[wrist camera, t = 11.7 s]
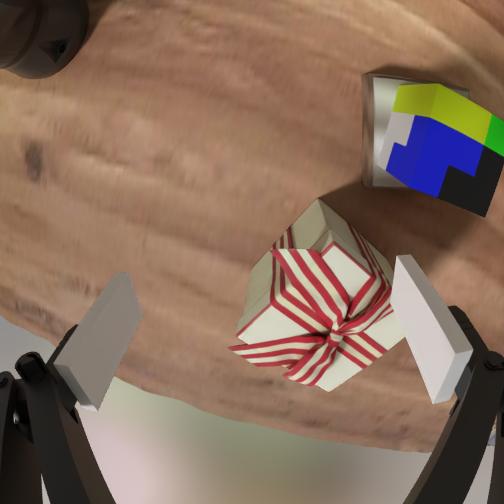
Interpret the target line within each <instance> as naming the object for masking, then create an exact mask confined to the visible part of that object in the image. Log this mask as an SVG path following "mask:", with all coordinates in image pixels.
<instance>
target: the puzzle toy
mask: <svg viewBox="0 0 504 504" xmlns="http://www.w3.org/2000/svg"><path fill="white" fill-rule="evenodd" d="M377 165H378V166H379V167H381V168H382V169H384V170H385V171H387V172H388V173H389V174H391V175H392V176H394V177H395V178H397V179H398V180H399V181H401V182H402V183H403V184H405V185H406V186H407V187H409V188H412V189H415V190H418V191H420V192H423V193H426V194H428V195H431V196H434V197H436V198H439V199H441V200H444V201H446V202H449V203H451V204H454V205H456V206H459V207H461V208H463V209H466V210H468V211H470V212H473V213H475V214H477V215H480V216H482V217H484V218H485V216H486V213H487V211H488V208H489V206H490V203H491V200H492V198H493V195H494V192H495V189H496V186H497V184H498V181H499V178H500V175H501V171H502V168H503V165H504V121H502V120H501V119H499V118H498V117H496V116H495V115H493V114H491V113H490V112H488V111H487V110H485V109H483V108H482V107H480V106H478V105H477V104H475V103H473V102H472V101H470V100H468V99H466V98H465V97H463V96H461V95H459V94H457V93H456V92H454V91H452V90H450V89H448V88H446V87H444V86H442V85H440V84H416V85H401V86H398V90H397V94H396V98H395V102H394V106H393V109H392V113H391V117H390V120H389V124H388V127H387V131H386V134H385V138H384V141H383V145H382V148H381V151H380V155H379V158H378V161H377Z"/></svg>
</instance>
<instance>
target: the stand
mask: <svg viewBox="0 0 504 504" xmlns="http://www.w3.org/2000/svg"><path fill="white" fill-rule="evenodd" d="M416 84H440V85H442V86H444V87H446V88H448V89H450V90H452V91H454V92H456V93H457V94H459V95H461V96H463V97H465V98H466V99H468V100H469V89H466V88H462V87H457V86H452V85H448V84H443V83H437V82H432V81H426V80H420V79H414V78H407V77H400V76H392V75H383V74H373V73H368V74H364V75H362V105H363V142H362V177H361V182H362V183H363V184H364V185H365V186H366V187H367V188H368V189H393V190H415V189H412V188H409V187H407V186H406V185H405V184H403V183H402V182H401V181H399V180H398V179H397V178H395V177H394V176H392V175H391V174H389V173H388V172H387V171H385V170H384V169H382V168H381V167H379V166H378V165H377V161H378V158H379V155H380V151H381V148H382V145H383V141H384V138H385V134H386V131H387V127H388V124H389V120H390V117H391V113H392V109H393V106H394V102H395V98H396V94H397V90H398V86H401V85H416Z"/></svg>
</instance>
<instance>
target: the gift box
mask: <svg viewBox="0 0 504 504" xmlns="http://www.w3.org/2000/svg"><path fill="white" fill-rule="evenodd" d="M393 279H394V272H393V270H392V268H391V266H390V264H389V262H388V261H387V259H386V258H385V257H384V256H383V255H382V254H381V253H379V252H378V251H377V250H376V249H375V248H374V247H373V246H372V245H371V244H370V243H369V242H368V241H367V240H366V239H365V238H364V237H363V236H362V235H361V234H360V233H359V232H358V231H357V230H356V229H354V228H353V227H352V226H351V225H350V224H349V223H347V222H346V221H345V220H344V219H342V218H341V217H340V216H339V215H338V214H337V213H336V212H334V211H333V210H332V209H331V208H330V207H328V206H327V205H326V204H325V203H324V202H323V201H321V200H320V199H319V198H317V199H316V200H315V201H314V202H313V203H312V204H311V205H310V206H309V207H308V208H307V209H306V210H305V211H304V213H303V214H302V215H301V216H300V217H299V218H298V219H297V220H296V221H295V222H294V223H293V225H292V226H290V227H289V228H288V229H287V230H286V231H285V233H284V234H283V236H282V237H281V238H280V239H279V240H277V241H276V242H275V243H274V244H273V246H272V247H271V248H270V249H269V250H268V251H267V252H266V254H265V255H264V256H263V257H262V258H261V259H260V260H259V261H258V262H257V263H256V265H255V266H254V267H253V268H252V270H251V275H250V280H249V285H248V291H247V296H246V302H245V308H244V313H243V316H242V317H241V318H240V319H239V320H238V325H237V330H236V337H237V338H239V339H241V340H242V341H244V342H245V343H246V344H244V345H238V346H231V347H227V348H228V349H230V350H232V351H233V352H235V353H237V354H239V355H240V356H242V357H243V358H245V359H246V360H248V361H249V362H251V363H252V364H254V365H256V366H258V367H268V366H280V365H283V366H284V367H286V368H288V369H289V371H288V372H287V373H285V374H283V377H285V378H288V379H291V380H294V381H297V382H300V383H303V384H305V385H308V386H313V385H314V384H316V385H317V386H319V387H321V388H323V389H324V390H326V391H328V392H331V391H333V390H334V389H336V388H337V387H338V386H340V385H341V384H343V383H344V382H346V381H347V380H349V379H350V378H351V377H353V376H354V375H356V374H357V373H359V372H360V371H361V370H363V369H364V368H366V367H367V366H368V365H370V364H371V363H372V362H374V361H375V360H376V359H378V358H379V357H380V356H382V355H383V354H384V353H386V352H387V351H388V350H389V349H390V348H392V347H393V346H394V345H395V344H397V343H398V342H399V341H400V340H402V339H403V338H404V337H405V334H404V332H403V330H402V328H401V325H400V323H399V321H398V319H397V317H396V315H395V312H394V310H393V308H392V306H391V304H390V299H391V293H392V286H393Z"/></svg>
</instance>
